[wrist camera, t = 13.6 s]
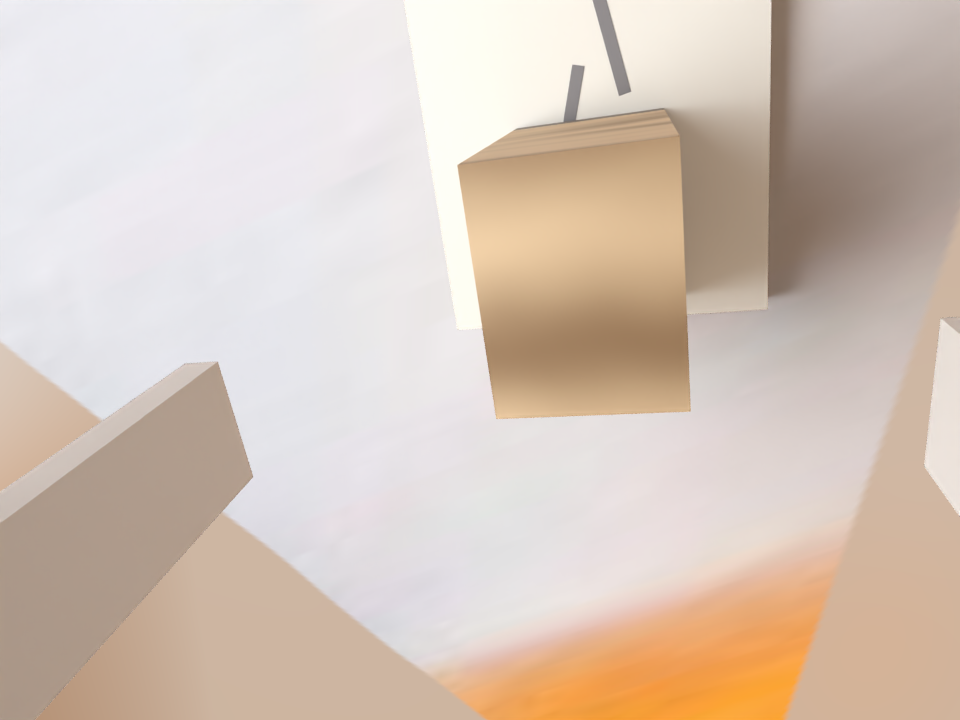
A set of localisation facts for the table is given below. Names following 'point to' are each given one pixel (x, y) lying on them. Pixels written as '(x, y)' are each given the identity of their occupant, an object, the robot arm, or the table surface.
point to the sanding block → (581, 266)
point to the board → (610, 113)
